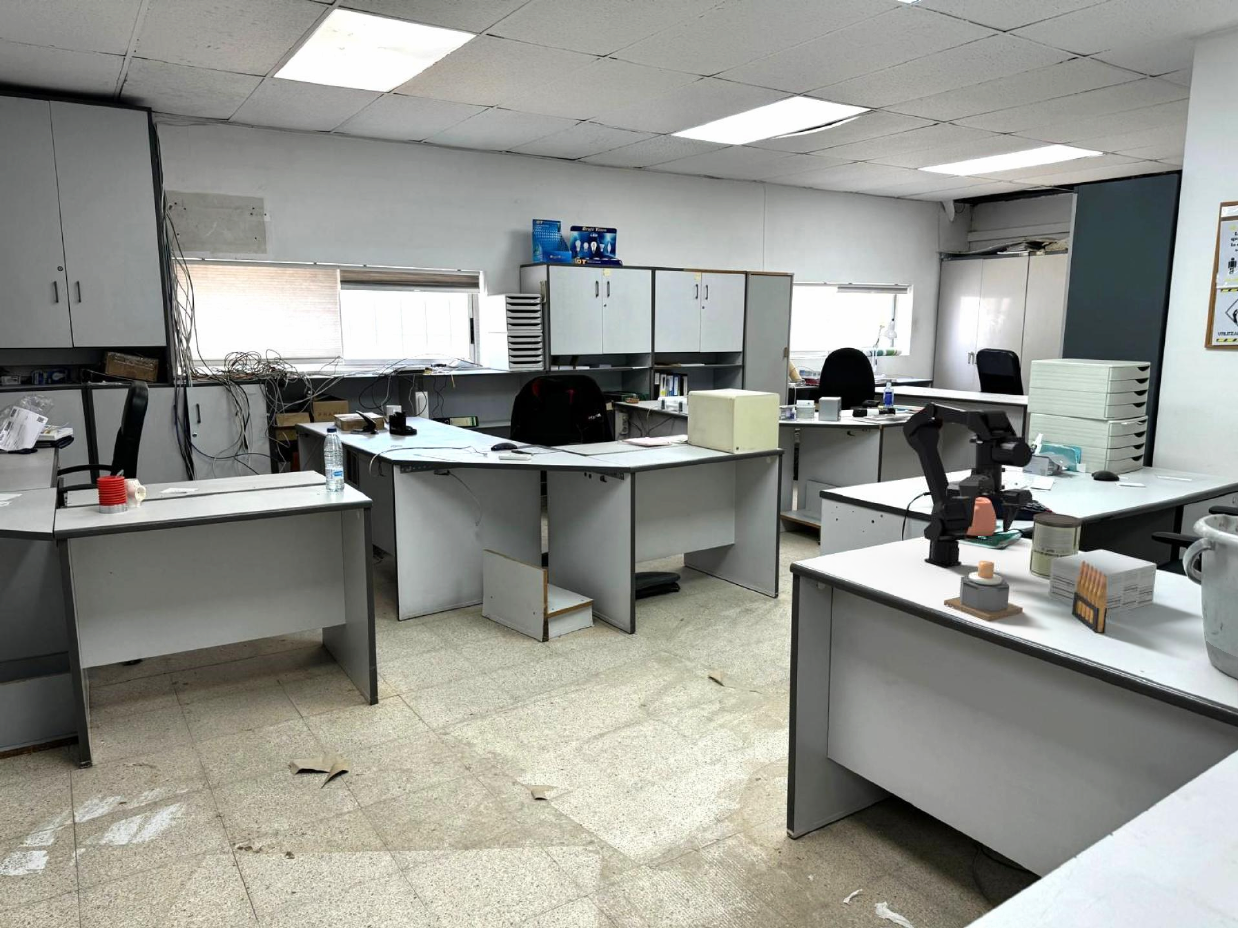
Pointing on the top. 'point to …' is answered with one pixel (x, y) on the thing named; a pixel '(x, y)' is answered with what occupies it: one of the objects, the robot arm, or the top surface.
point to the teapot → (983, 518)
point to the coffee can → (1052, 541)
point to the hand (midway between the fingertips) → (987, 529)
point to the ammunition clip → (1091, 598)
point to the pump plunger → (985, 574)
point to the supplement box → (1124, 578)
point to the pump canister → (984, 600)
